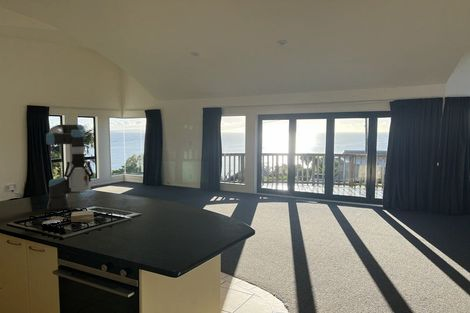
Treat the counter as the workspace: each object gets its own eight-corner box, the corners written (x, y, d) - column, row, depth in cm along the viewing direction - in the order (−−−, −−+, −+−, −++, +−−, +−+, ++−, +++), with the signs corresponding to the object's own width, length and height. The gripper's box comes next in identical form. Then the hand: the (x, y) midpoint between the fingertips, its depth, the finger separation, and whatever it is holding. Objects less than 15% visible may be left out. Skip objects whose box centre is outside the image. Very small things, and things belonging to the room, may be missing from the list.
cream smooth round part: (44, 222, 219) (44, 220, 219) (61, 221, 222) (61, 219, 222) (41, 226, 210) (40, 224, 210) (58, 224, 213) (58, 222, 213)
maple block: (72, 219, 228) (72, 212, 228) (93, 217, 233) (93, 210, 233) (71, 223, 216) (70, 216, 216) (93, 221, 221) (93, 214, 221)
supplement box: (83, 191, 220) (82, 168, 219) (70, 191, 221) (69, 168, 220) (91, 189, 229) (90, 167, 228) (78, 189, 230) (77, 167, 229)
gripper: (57, 154, 215) (59, 188, 216) (96, 153, 221) (97, 186, 223) (60, 153, 222) (61, 187, 223) (97, 152, 229) (98, 185, 230)
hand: (79, 186), depth 223 cm, fingers closed on supplement box, 10 cm apart
